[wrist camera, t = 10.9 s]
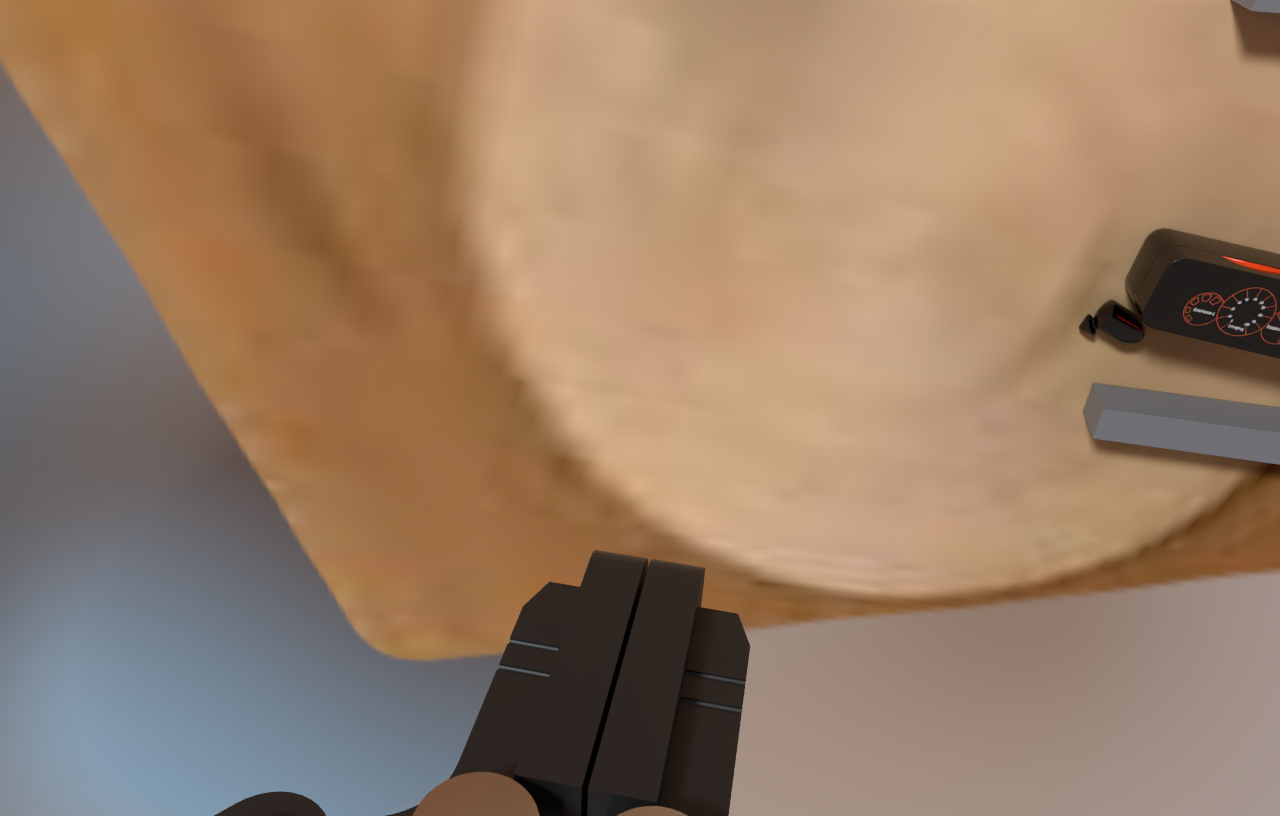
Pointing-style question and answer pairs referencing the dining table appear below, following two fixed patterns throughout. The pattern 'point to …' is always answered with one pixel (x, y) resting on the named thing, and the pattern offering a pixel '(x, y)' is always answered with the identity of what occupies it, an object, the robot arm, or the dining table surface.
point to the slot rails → (1187, 406)
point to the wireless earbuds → (1198, 294)
